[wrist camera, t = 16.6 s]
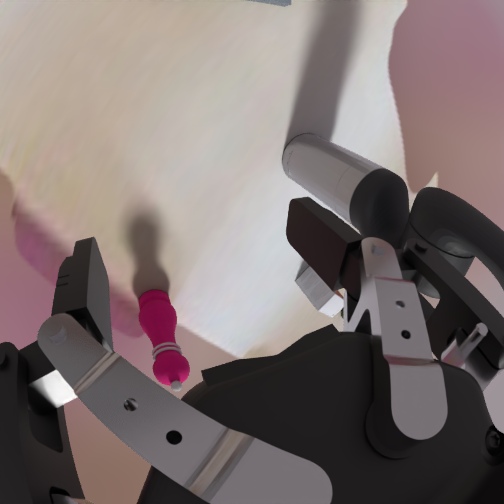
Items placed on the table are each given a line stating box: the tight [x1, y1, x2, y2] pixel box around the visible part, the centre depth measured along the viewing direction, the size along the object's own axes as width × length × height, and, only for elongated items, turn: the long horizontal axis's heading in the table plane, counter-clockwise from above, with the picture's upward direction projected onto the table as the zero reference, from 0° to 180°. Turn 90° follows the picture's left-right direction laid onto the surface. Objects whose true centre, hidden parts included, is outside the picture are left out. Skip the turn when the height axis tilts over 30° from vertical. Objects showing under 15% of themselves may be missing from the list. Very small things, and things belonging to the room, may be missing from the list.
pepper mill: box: [139, 290, 190, 391], centre depth 43 cm, size 7×7×20 cm
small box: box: [295, 266, 344, 318], centre depth 63 cm, size 8×6×10 cm
